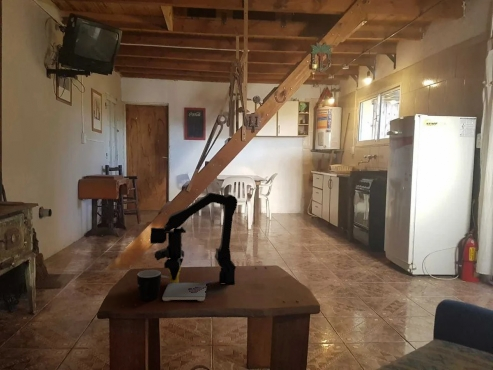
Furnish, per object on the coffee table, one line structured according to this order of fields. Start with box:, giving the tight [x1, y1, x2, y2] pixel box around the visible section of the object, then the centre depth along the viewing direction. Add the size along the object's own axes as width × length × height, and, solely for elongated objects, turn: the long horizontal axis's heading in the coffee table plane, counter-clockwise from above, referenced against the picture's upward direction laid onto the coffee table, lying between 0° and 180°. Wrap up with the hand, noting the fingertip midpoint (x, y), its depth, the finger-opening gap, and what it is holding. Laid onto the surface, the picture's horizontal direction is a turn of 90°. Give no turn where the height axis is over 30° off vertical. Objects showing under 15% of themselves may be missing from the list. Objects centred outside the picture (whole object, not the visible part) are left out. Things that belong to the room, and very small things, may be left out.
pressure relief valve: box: [161, 266, 182, 283], centre depth 158 cm, size 6×12×10 cm, turn 70°
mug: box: [136, 269, 162, 302], centre depth 140 cm, size 12×9×10 cm
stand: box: [162, 282, 207, 302], centre depth 147 cm, size 16×15×2 cm
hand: (174, 277), depth 158 cm, fingers closed on pressure relief valve, 5 cm apart
